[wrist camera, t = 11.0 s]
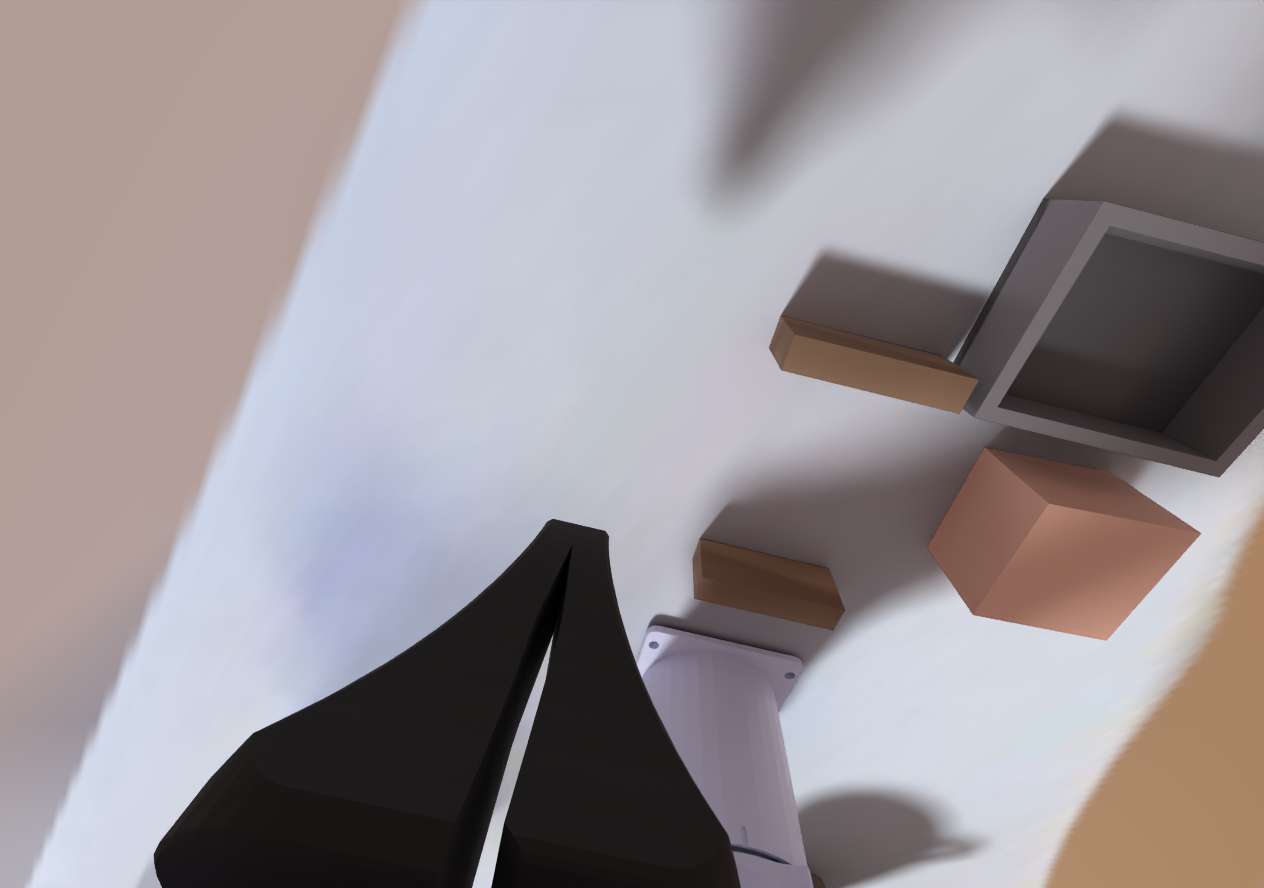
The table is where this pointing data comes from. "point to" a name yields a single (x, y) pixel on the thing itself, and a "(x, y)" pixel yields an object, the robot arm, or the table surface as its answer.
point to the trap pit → (1125, 336)
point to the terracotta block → (1055, 544)
